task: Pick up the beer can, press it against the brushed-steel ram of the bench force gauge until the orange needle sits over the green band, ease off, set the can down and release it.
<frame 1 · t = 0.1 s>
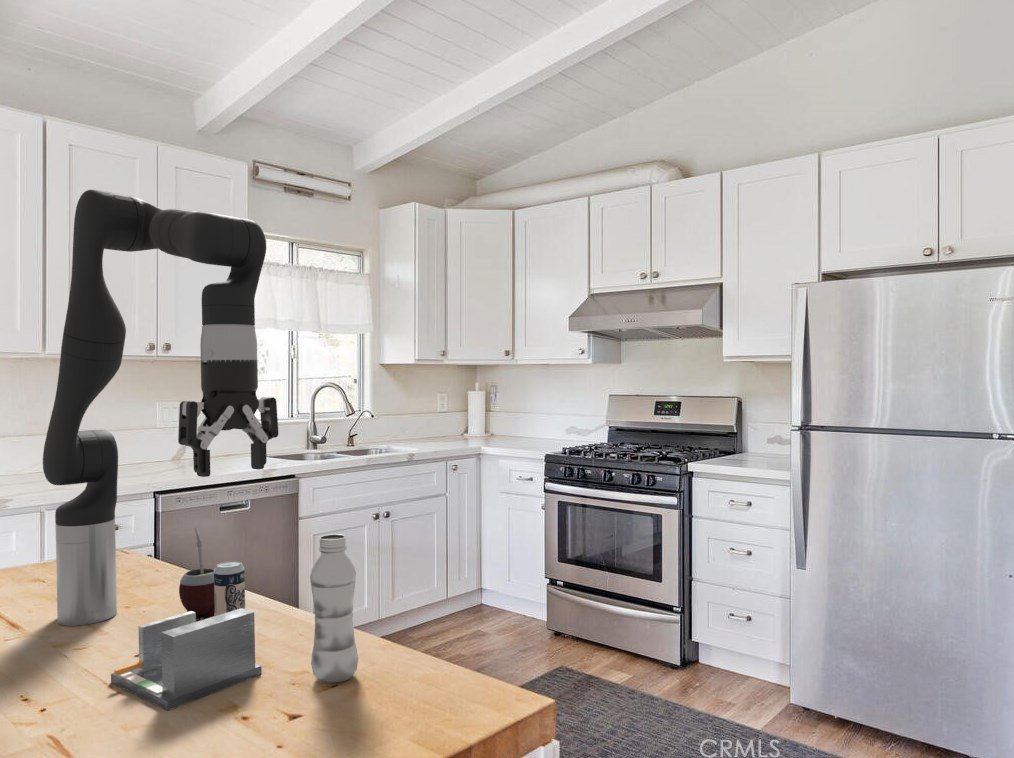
hand: (231, 472, 106), 29 cm above the countertop, fingers open, 8 cm apart
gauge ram: (155, 642, 107), point 5 cm above the countertop, slide at 0.0 cm
gauge base: (187, 678, 106), on the countertop
plastic bottle: (335, 680, 105), on the countertop
mate gourd: (200, 617, 133), on the countertop
beer can: (230, 638, 122), on the countertop
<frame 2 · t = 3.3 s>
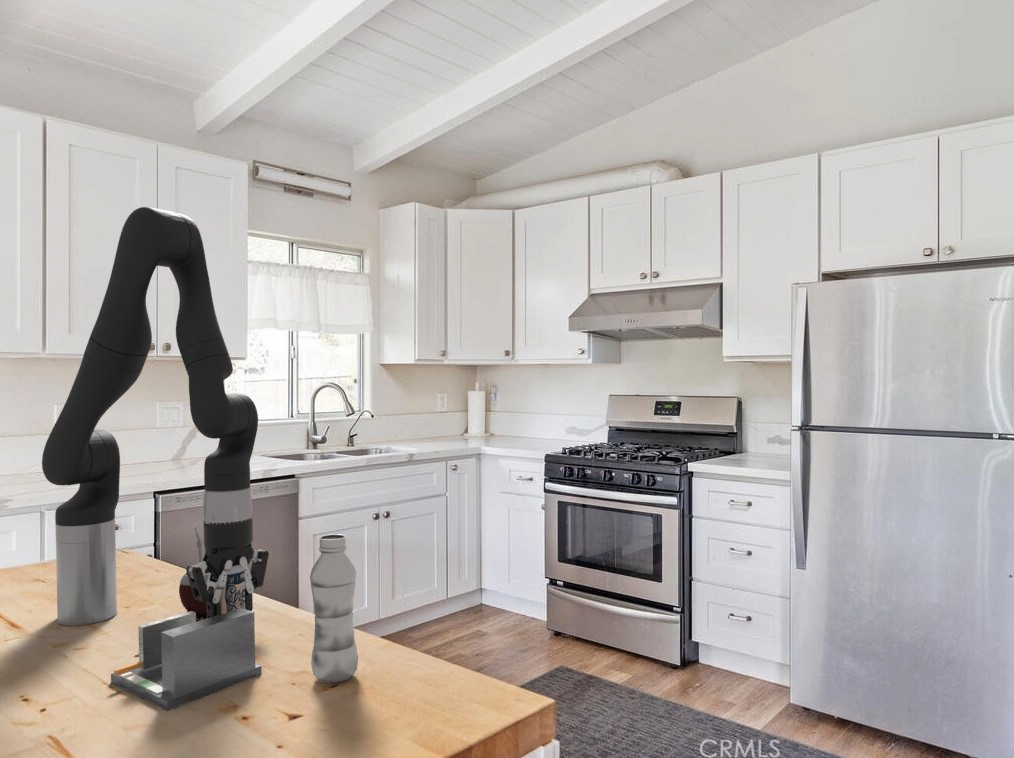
hand: (230, 619, 122), 3 cm above the countertop, fingers closed on beer can, 4 cm apart
beer can: (230, 638, 122), on the countertop, touching gripper
everything else where it was.
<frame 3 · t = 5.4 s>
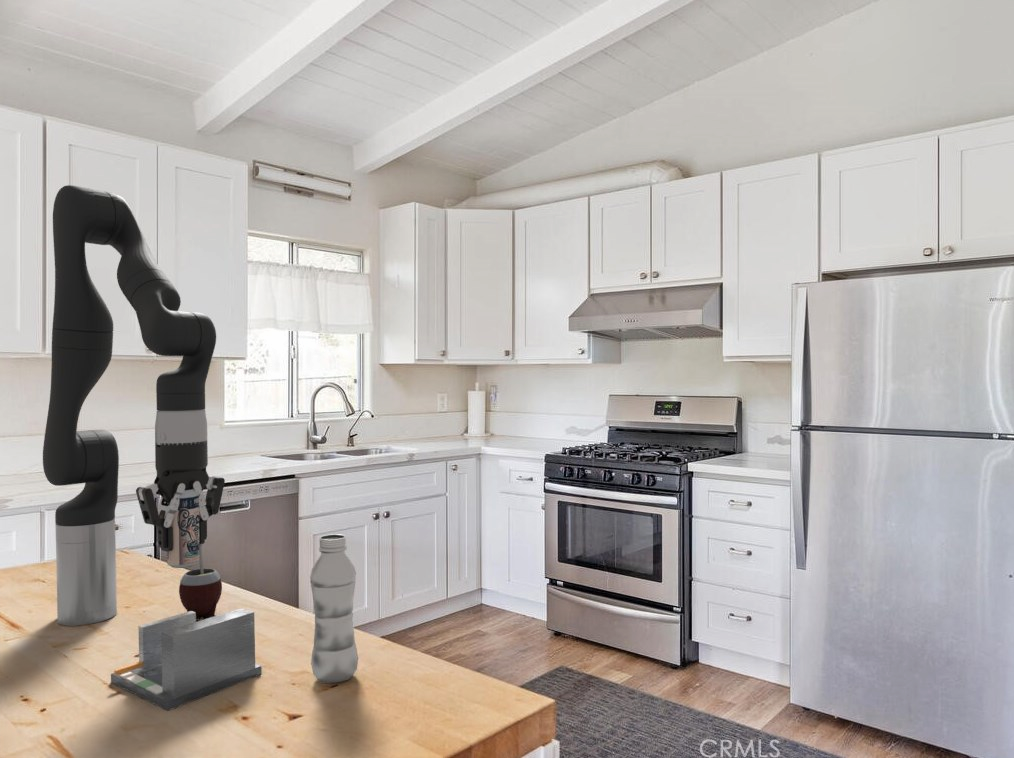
hand: (182, 546, 117), 16 cm above the countertop, fingers closed on beer can, 4 cm apart
beer can: (183, 566, 117), point 13 cm above the countertop, touching gripper
everything else where it was.
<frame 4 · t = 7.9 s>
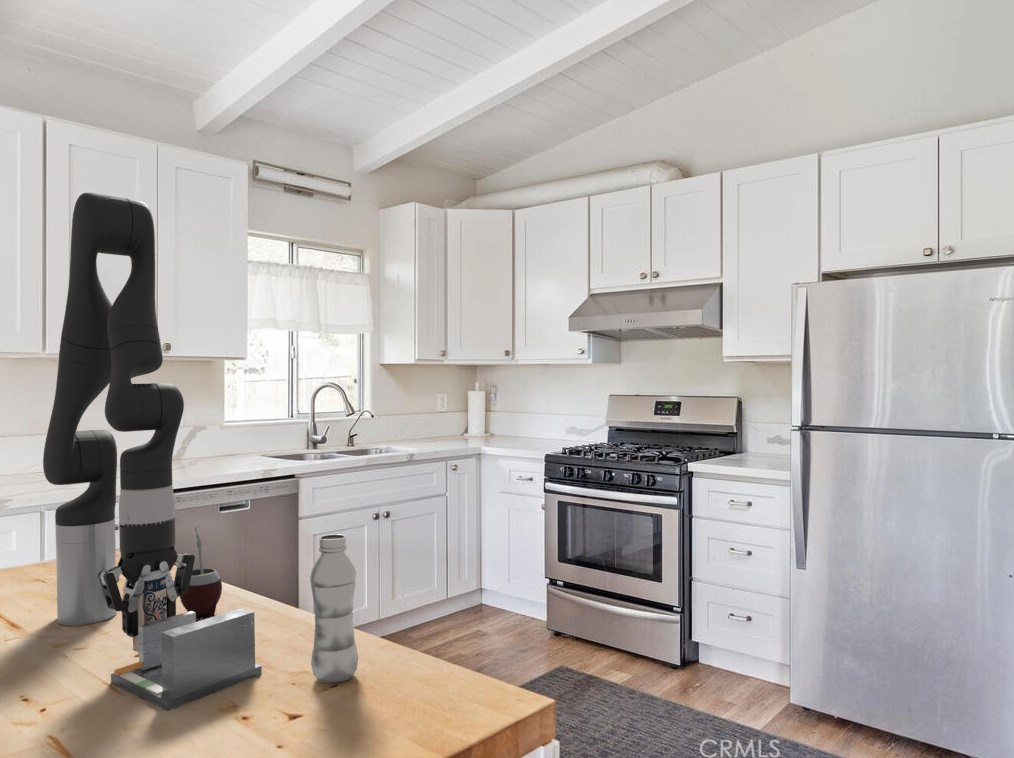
hand: (149, 629, 112), 5 cm above the countertop, fingers closed on beer can, 4 cm apart
beer can: (150, 650, 112), point 2 cm above the countertop, touching gripper
everything else where it was.
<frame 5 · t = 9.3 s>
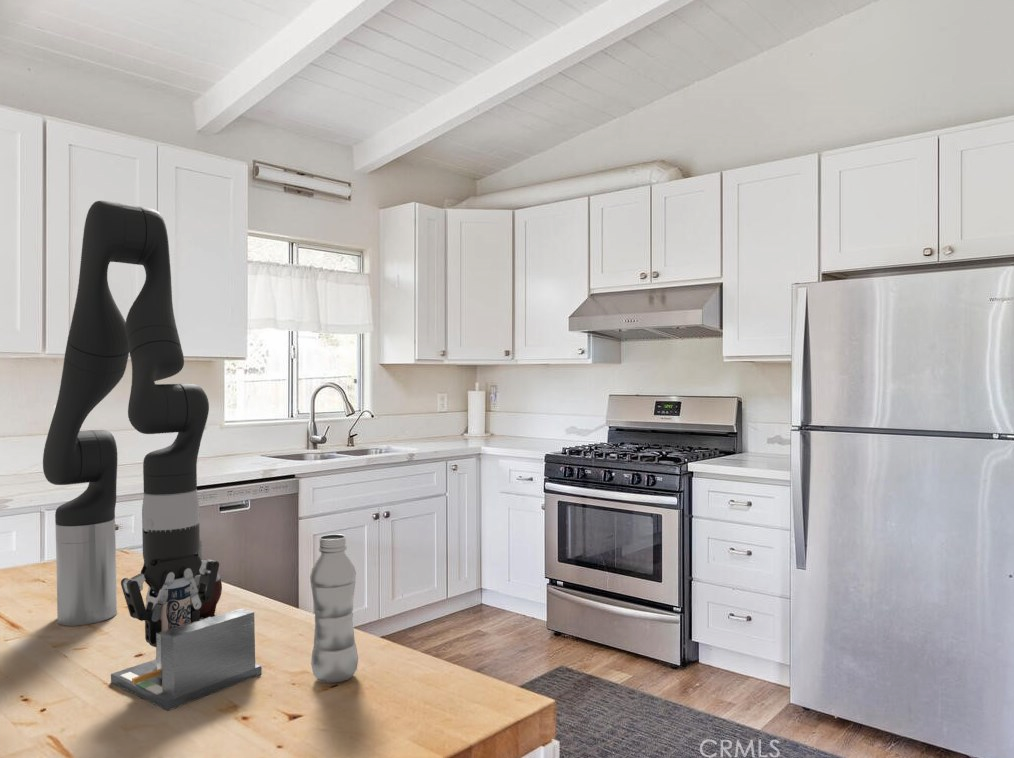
hand: (173, 639, 108), 5 cm above the countertop, fingers closed on beer can, 4 cm apart
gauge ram: (173, 650, 104), point 4 cm above the countertop, slide at 4.9 cm, touching beer can
beer can: (174, 660, 108), point 2 cm above the countertop, touching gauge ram, gripper
everything else where it was.
when the fingers open (4 cm above the countertop, at t = 12.5 s): beer can stays where it is, on the countertop.
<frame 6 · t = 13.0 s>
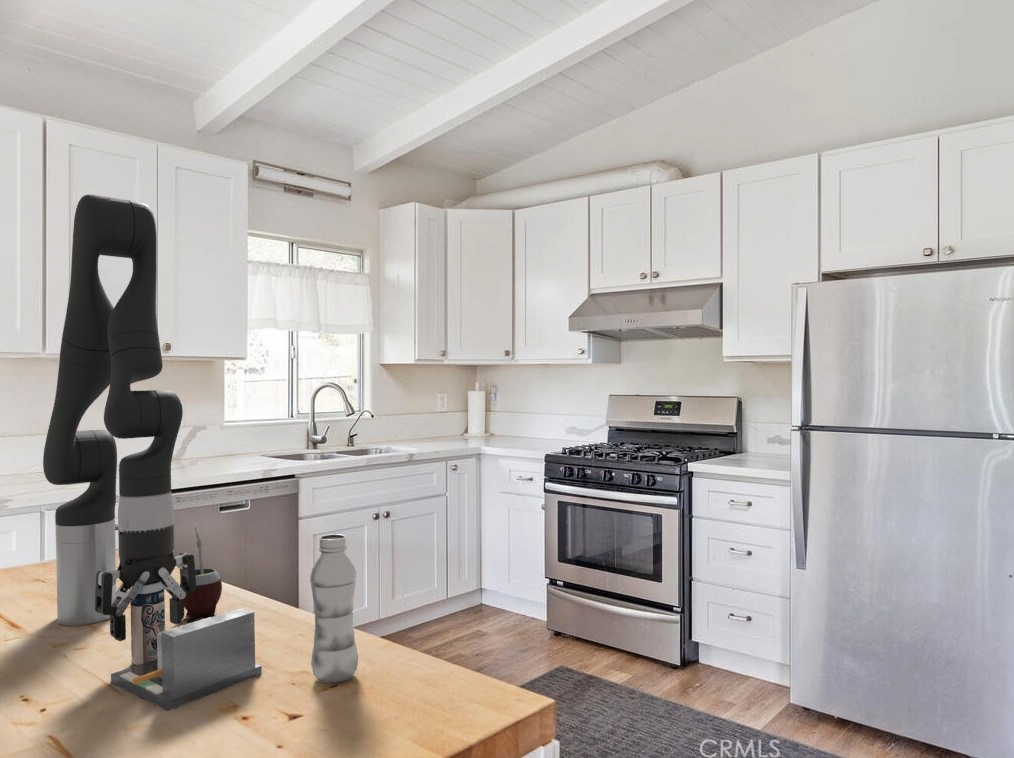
hand: (148, 631, 112), 5 cm above the countertop, fingers open, 8 cm apart
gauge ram: (174, 650, 104), point 5 cm above the countertop, slide at 5.1 cm
beer can: (149, 662, 112), on the countertop
everything else where it was.
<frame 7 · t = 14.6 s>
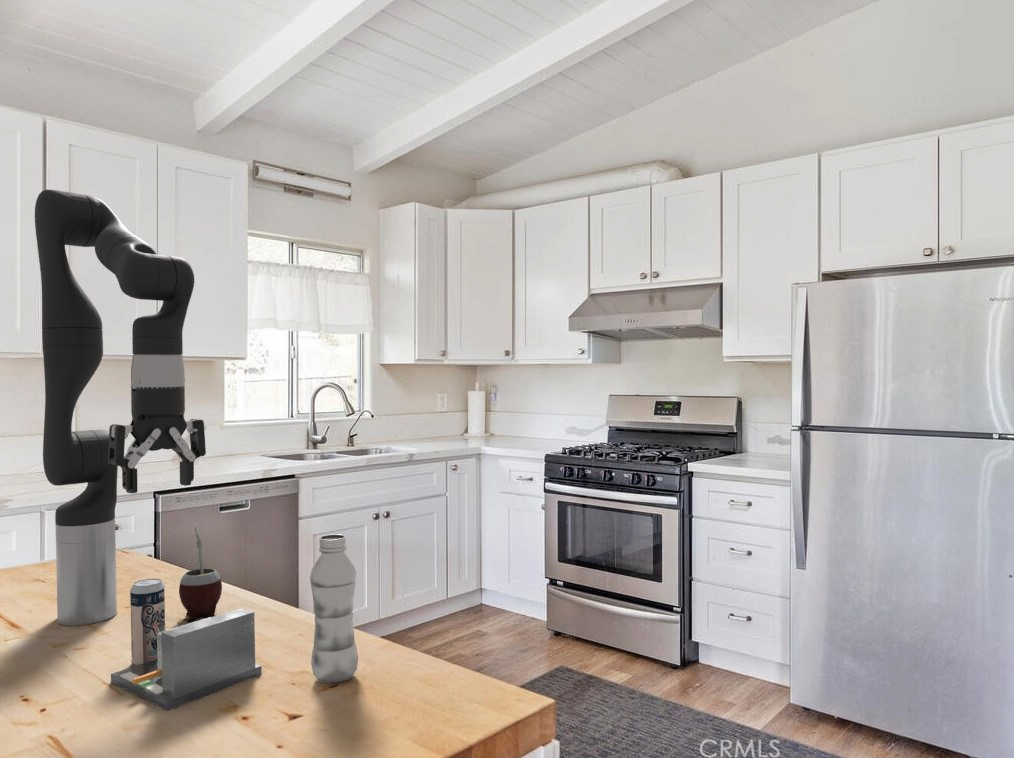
hand: (159, 488, 116), 25 cm above the countertop, fingers open, 8 cm apart
nothing on the countertop moved.
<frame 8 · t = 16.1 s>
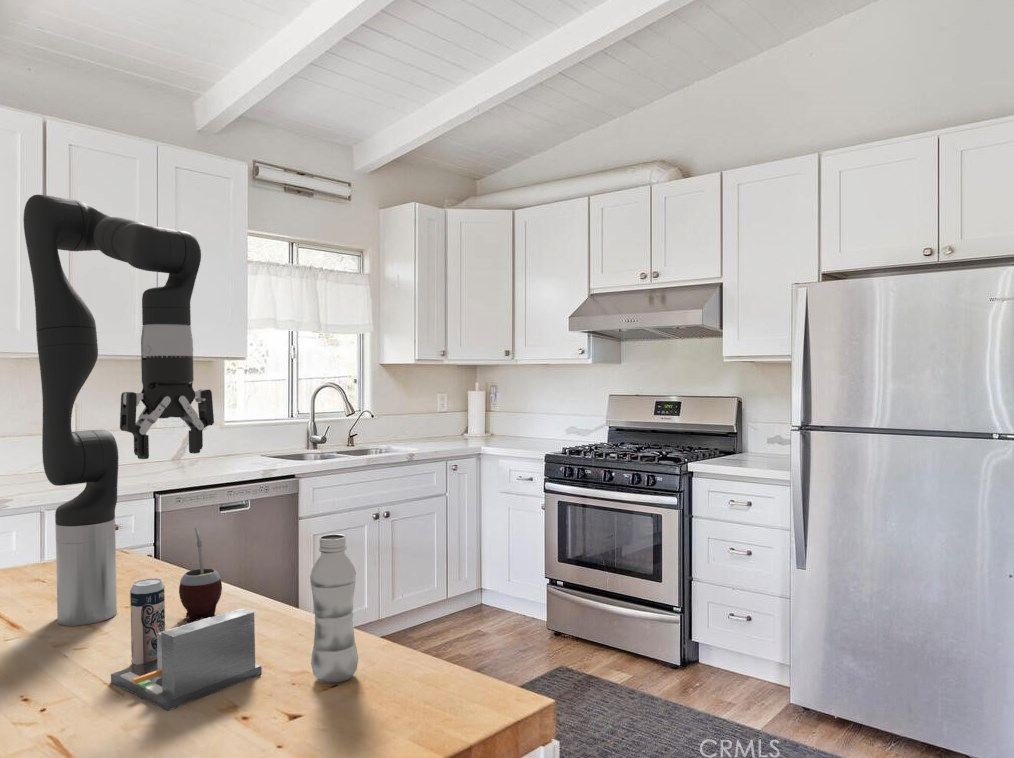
hand: (169, 455, 119), 30 cm above the countertop, fingers open, 8 cm apart
nothing on the countertop moved.
at the end: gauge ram slide at 5.1 cm; the gripper is holding nothing; beer can tilted 0° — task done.
